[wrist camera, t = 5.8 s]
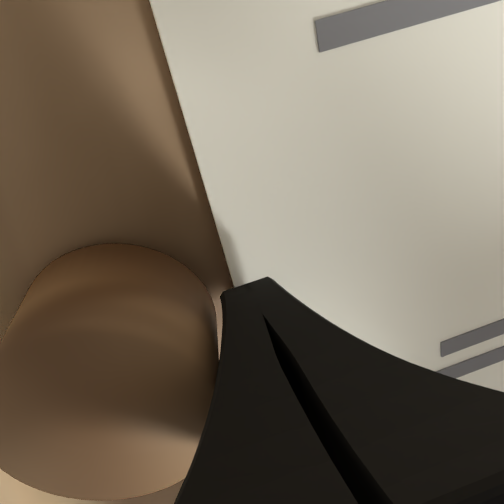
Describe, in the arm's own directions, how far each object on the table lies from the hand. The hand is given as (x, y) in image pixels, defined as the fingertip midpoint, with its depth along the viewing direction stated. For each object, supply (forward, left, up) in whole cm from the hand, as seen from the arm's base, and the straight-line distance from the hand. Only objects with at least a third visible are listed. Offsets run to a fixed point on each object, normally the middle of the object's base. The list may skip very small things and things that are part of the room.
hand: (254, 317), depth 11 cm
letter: (-6, 0, -1) cm, 6 cm away
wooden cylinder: (+3, 0, -1) cm, 3 cm away
